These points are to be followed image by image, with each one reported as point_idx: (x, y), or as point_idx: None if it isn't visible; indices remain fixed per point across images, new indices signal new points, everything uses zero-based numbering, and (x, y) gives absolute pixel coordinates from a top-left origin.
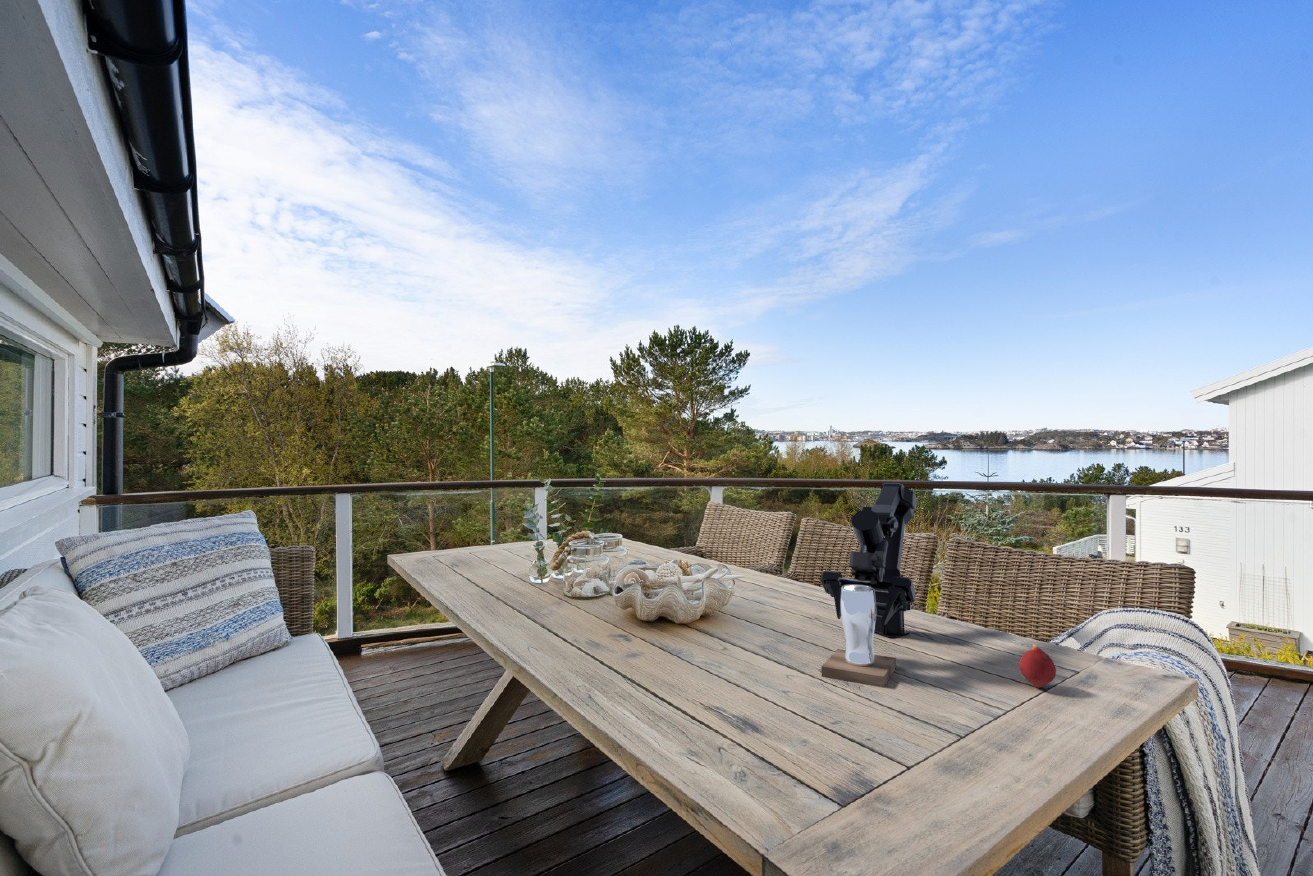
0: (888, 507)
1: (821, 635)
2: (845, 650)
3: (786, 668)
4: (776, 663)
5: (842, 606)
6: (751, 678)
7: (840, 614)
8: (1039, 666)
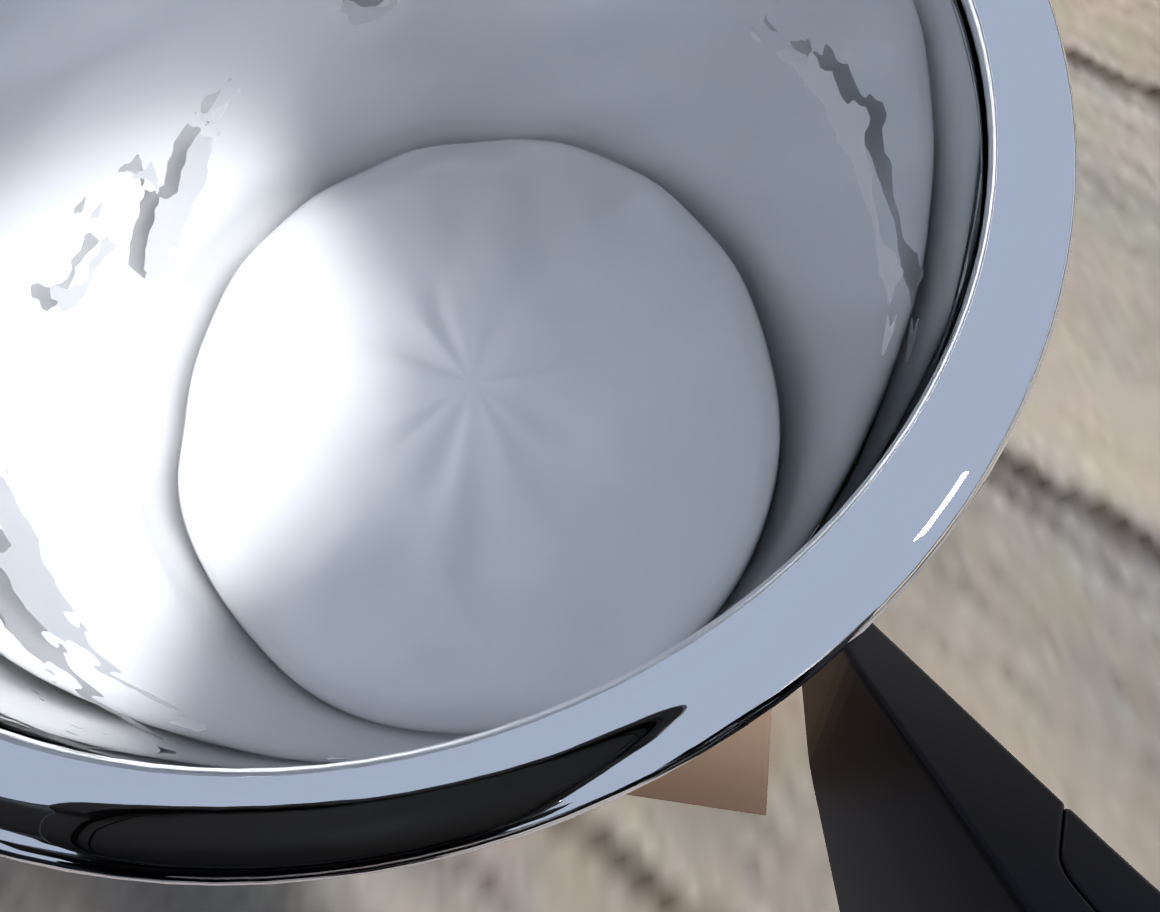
0: None
1: None
2: (693, 797)
3: (1029, 439)
4: (1135, 511)
5: (753, 190)
6: (1148, 208)
7: (817, 690)
8: None
